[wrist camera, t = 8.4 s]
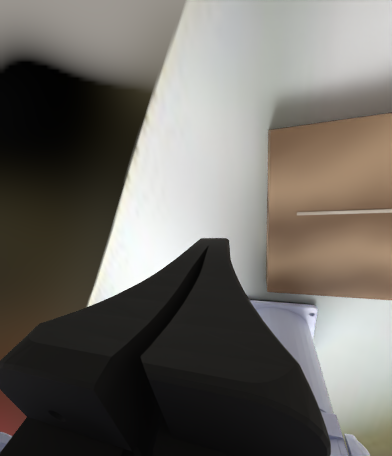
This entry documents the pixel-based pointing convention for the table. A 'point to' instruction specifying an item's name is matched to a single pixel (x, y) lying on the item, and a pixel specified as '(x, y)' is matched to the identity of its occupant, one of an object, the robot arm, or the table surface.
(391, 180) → the oak board
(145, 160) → the table surface
